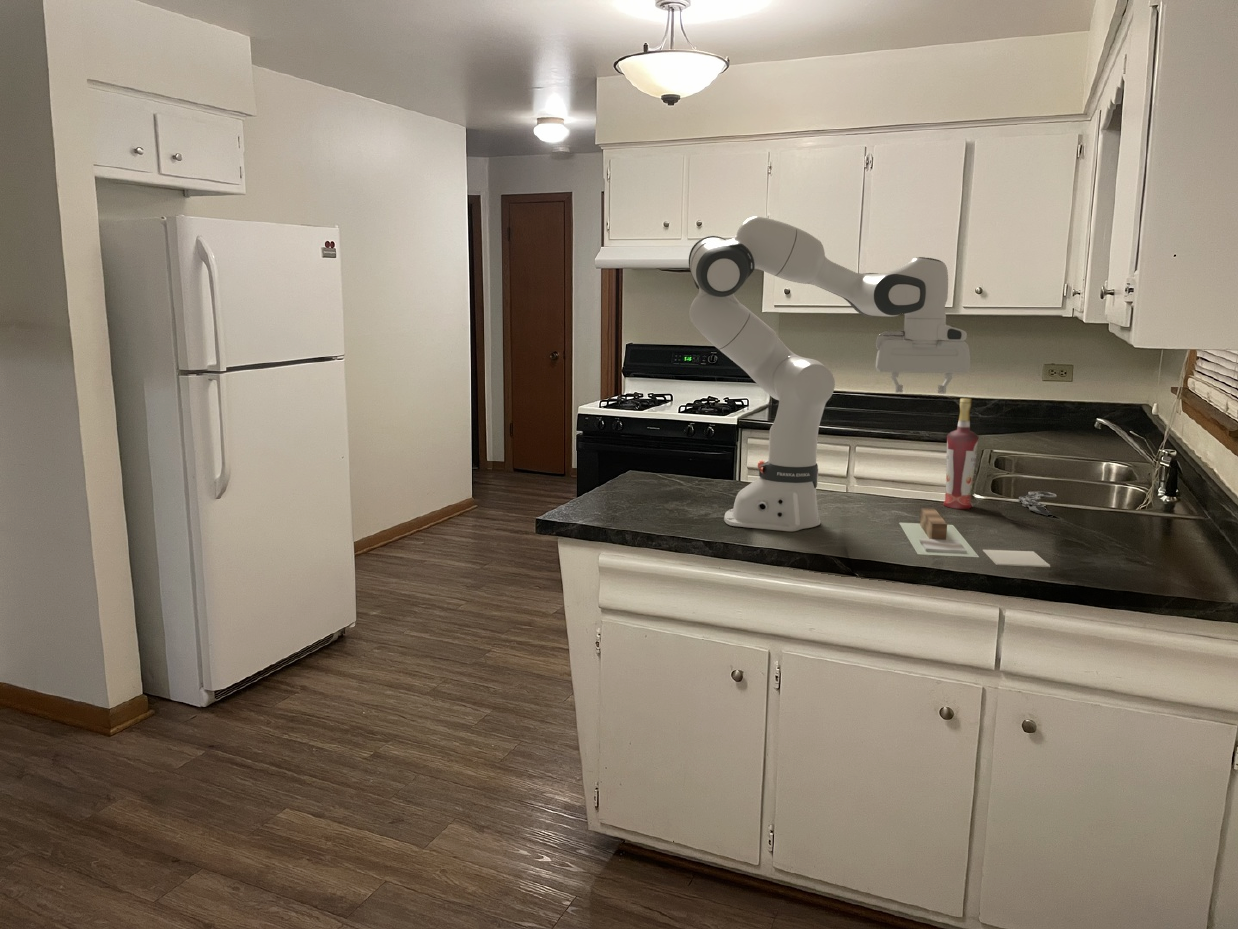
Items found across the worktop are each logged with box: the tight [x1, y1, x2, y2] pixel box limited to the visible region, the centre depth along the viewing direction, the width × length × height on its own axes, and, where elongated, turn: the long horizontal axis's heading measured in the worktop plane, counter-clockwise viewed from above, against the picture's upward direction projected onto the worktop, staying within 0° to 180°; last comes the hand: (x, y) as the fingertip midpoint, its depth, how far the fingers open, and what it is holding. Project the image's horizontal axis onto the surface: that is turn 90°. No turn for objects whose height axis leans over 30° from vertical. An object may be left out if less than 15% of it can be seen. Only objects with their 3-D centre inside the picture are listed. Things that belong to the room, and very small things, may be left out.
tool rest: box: [898, 522, 980, 558], centre depth 194 cm, size 12×26×1 cm, turn 171°
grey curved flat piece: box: [1017, 491, 1058, 516], centre depth 231 cm, size 28×2×10 cm
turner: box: [919, 507, 966, 553], centre depth 194 cm, size 22×8×4 cm, turn 171°
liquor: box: [942, 397, 980, 510], centre depth 222 cm, size 7×7×28 cm
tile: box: [982, 549, 1051, 568], centre depth 180 cm, size 10×2×10 cm
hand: (920, 392), depth 203 cm, fingers open, 8 cm apart
